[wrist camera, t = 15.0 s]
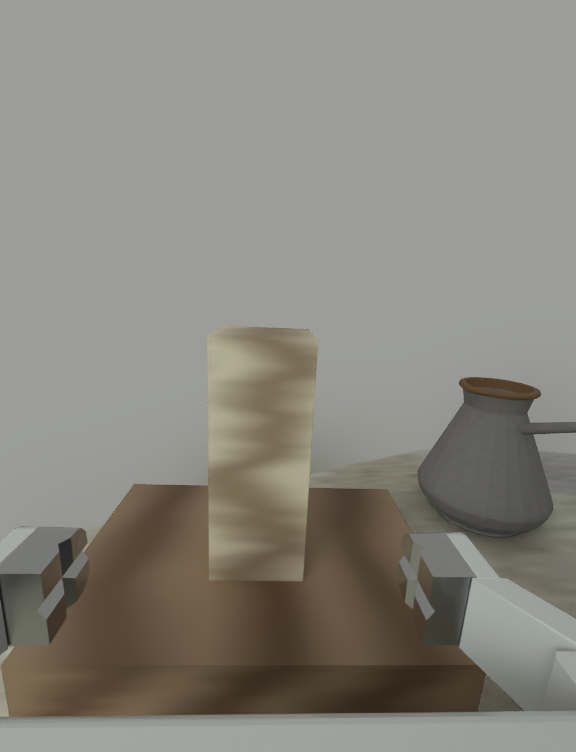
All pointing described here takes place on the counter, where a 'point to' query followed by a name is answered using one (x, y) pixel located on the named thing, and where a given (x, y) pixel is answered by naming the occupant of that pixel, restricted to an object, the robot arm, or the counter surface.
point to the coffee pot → (491, 461)
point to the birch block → (259, 451)
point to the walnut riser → (240, 623)
